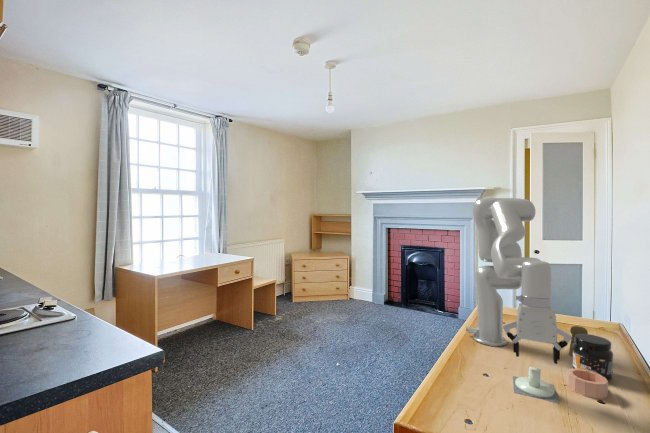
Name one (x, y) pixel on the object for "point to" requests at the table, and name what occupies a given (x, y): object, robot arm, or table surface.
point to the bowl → (587, 383)
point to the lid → (534, 385)
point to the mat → (516, 390)
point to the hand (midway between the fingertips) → (535, 358)
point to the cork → (574, 331)
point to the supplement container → (593, 354)
